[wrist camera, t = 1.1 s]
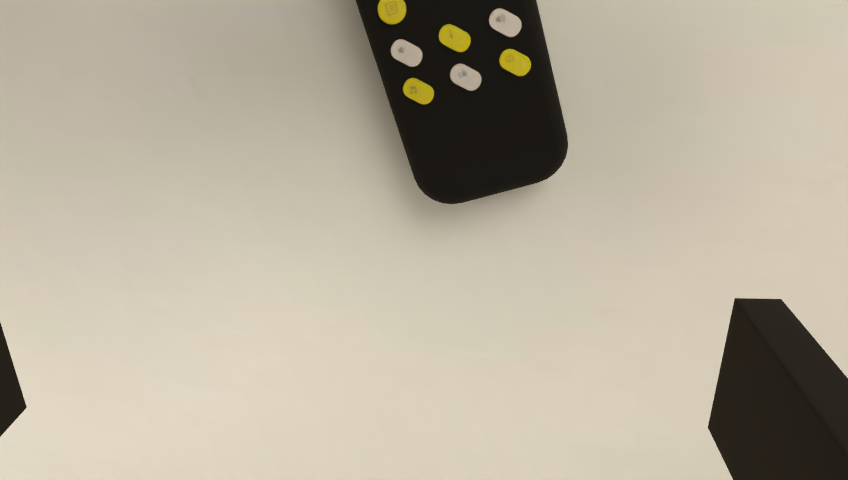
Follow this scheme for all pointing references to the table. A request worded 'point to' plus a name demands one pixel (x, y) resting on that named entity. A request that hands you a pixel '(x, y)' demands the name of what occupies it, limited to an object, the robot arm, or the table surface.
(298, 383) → the table surface
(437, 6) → the remote control
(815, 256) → the table surface
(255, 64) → the table surface
